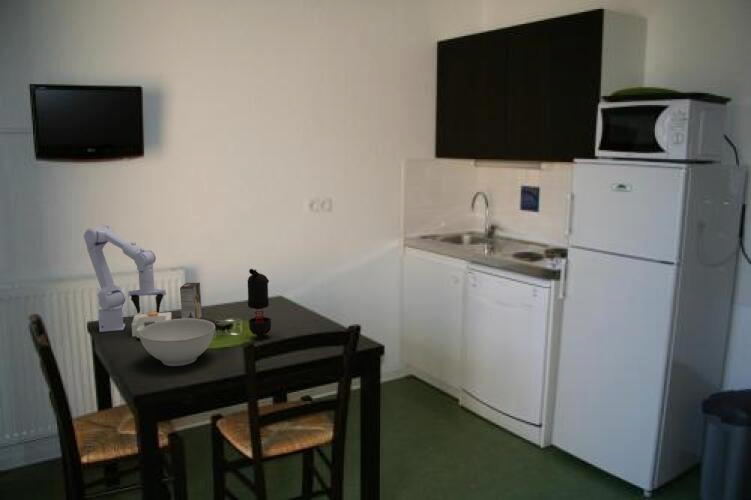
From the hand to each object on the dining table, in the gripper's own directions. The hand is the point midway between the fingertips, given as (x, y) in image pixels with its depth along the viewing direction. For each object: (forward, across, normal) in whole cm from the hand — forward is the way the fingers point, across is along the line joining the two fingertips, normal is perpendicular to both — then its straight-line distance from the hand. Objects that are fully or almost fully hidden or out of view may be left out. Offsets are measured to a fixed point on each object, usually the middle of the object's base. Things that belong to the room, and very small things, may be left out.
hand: (148, 312), depth 260 cm
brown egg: (+8, 0, -10) cm, 13 cm away
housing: (+9, 0, -6) cm, 11 cm away
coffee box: (+10, -15, -18) cm, 25 cm away
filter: (+9, -47, +11) cm, 49 cm away
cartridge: (+8, -1, +4) cm, 9 cm away
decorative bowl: (+9, -17, +34) cm, 39 cm away
